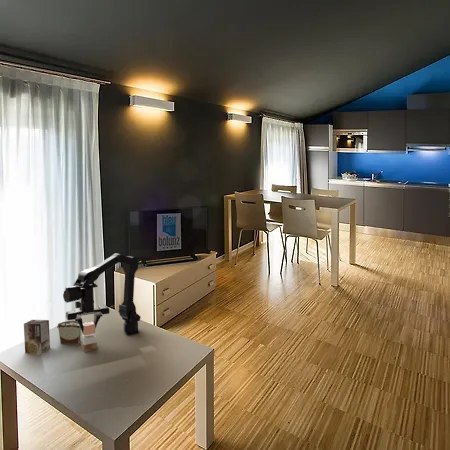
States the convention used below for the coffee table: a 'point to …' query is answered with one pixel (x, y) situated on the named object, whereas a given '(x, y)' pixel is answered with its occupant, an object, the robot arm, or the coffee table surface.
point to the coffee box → (36, 336)
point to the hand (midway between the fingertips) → (88, 330)
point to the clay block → (88, 328)
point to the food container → (69, 332)
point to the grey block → (89, 339)
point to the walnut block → (88, 347)
